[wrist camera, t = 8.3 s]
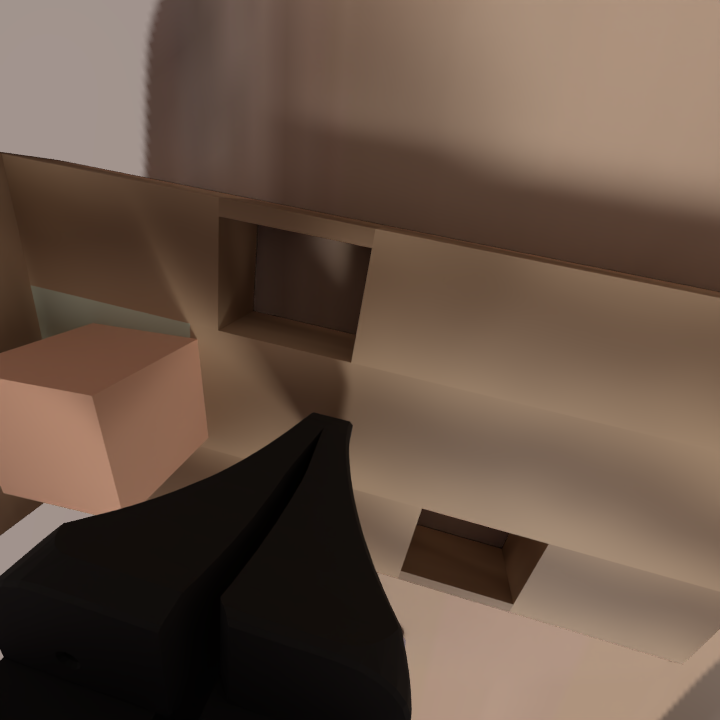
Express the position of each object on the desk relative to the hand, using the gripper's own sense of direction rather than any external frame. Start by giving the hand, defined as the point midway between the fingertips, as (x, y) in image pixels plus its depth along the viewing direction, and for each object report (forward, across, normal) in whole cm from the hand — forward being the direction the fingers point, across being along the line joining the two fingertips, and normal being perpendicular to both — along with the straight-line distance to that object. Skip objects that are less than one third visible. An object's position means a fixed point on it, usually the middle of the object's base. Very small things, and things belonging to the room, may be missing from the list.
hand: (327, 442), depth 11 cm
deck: (+3, -2, 0) cm, 4 cm away
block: (+1, +7, 0) cm, 7 cm away
